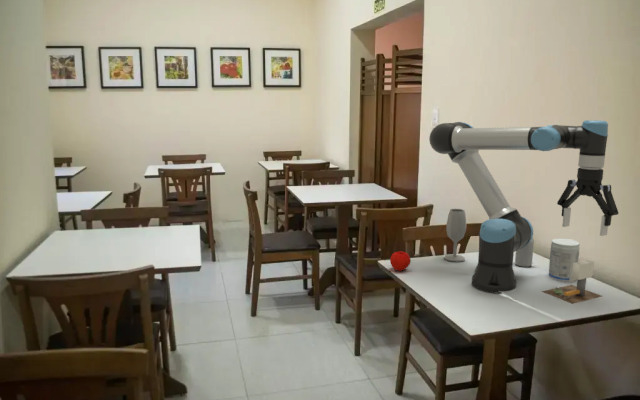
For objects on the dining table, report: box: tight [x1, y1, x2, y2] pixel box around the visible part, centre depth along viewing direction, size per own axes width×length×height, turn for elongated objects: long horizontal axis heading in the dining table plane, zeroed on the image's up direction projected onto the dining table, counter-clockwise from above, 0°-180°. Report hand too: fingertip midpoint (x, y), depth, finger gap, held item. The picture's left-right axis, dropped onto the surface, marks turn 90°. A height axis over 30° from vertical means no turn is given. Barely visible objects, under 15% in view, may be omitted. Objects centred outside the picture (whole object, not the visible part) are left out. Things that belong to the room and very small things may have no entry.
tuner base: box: [541, 284, 603, 305], centre depth 174 cm, size 15×12×2 cm
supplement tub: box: [548, 238, 580, 283], centre depth 189 cm, size 10×10×15 cm
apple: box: [389, 250, 412, 272], centre depth 199 cm, size 8×8×7 cm
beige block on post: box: [564, 259, 595, 296], centre depth 171 cm, size 12×3×11 cm, turn 117°
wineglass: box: [443, 208, 467, 263], centre depth 213 cm, size 9×9×21 cm
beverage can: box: [514, 237, 535, 268], centre depth 207 cm, size 6×6×12 cm
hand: (583, 230), depth 173 cm, fingers open, 13 cm apart
